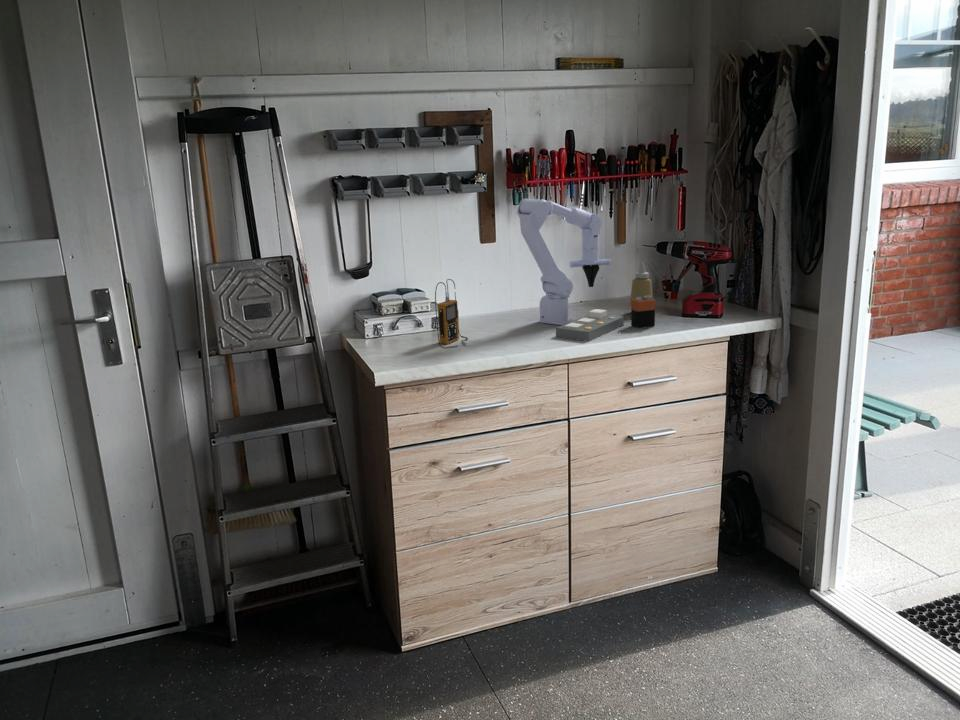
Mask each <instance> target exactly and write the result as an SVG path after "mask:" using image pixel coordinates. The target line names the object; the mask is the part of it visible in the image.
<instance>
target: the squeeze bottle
mask: <svg viewBox="0 0 960 720" xmlns="http://www.w3.org/2000/svg"><path fill="white" fill-rule="evenodd" d="M634 275H635V276H634V277H635V278H633V279H632V283H631V289H630V290H631V292H630V299H629V304H630V305H631V301H632V299H636V297H641V298H645V297H644V296H651V297H650V298H652V299H654V298H653V286H652V279H650V278H649V277H650V276H649V275H650V274H649V272H647V271H646V266H645V262H643V261H642V262H640V264H639V269H638V271H637V272H635V274H634Z"/></svg>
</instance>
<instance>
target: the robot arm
mask: <svg viewBox="0 0 960 720" xmlns="http://www.w3.org/2000/svg"><path fill="white" fill-rule="evenodd" d="M516 214H517V217H518V218H519V225H520V226H519V227H520V232H521V235H522V237H523V239H524V241H525V243H526V245H527V246H528V249H529V251H530V253H531V254H532V256H533V258H534V260H535V263H536V264H537V266H538V268H539V270H540V273H541V274H542V275H541V277H540V281H541V283H542V285H541V286H542V290H543V292H544V293H545V295H543V296H542V297H541V298H540V300H539V320H538V323H541V324H550V325H556V326H557V325H558V326H561V325H564V324H566V323H569V322H571V321H574V319H573V318H569V298H570V295H571V294H572V292H573V289H574V285H573V282H572V280H571V279H570V278H568V277H567V276H566V274H565V273H564V272H562V271H561V270H560V268H558V266H557V264H556V262H555V260H554V258H553V255H552V254H551V252H550V249H549V248H548V246H547V244H546V242H545V240H544V237H543V236H542V234H541V232H540V229H542V226H543V225H544V223H545V221H546V220H547V218H548V216H551V215H555V216H558V217H562V218H564V220H565V222H567V224H571V225H573V226H575V227H578V228H580V229H581V239H582V241H581V244H582V248H581V251H582V255H581V258H582V259H580V260H579V259H578V260H573V261H572V260H570V261H569V268H571V269H572V268H580V267H581V268H582V270H583V272H584V274H585V277H586V280H587V285H588V286H587V287H588V288H593V287H595V286H594V285H595V279H596V277H597V275H598V273H599V271H600V266H612V265H613V264H612V262H613V261H612V260H613V259H611V258H600V238H599V237H600V233H601V228H602V226H603V223H604V221H603V220H602V217H601V216H600V215H599V214H598V213H595V212H590V210H588V209H585V210H584V209H582V208H580V206H579V205H574V206H573V205H572V206H570V207H566V206H563V205H560V204H559V203H556V202H554V201H551V200H546V199H533V198H532V199H531V198H527V197H526V198H523V199H520V202H519V204H518V206H517V210H516Z"/></svg>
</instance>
